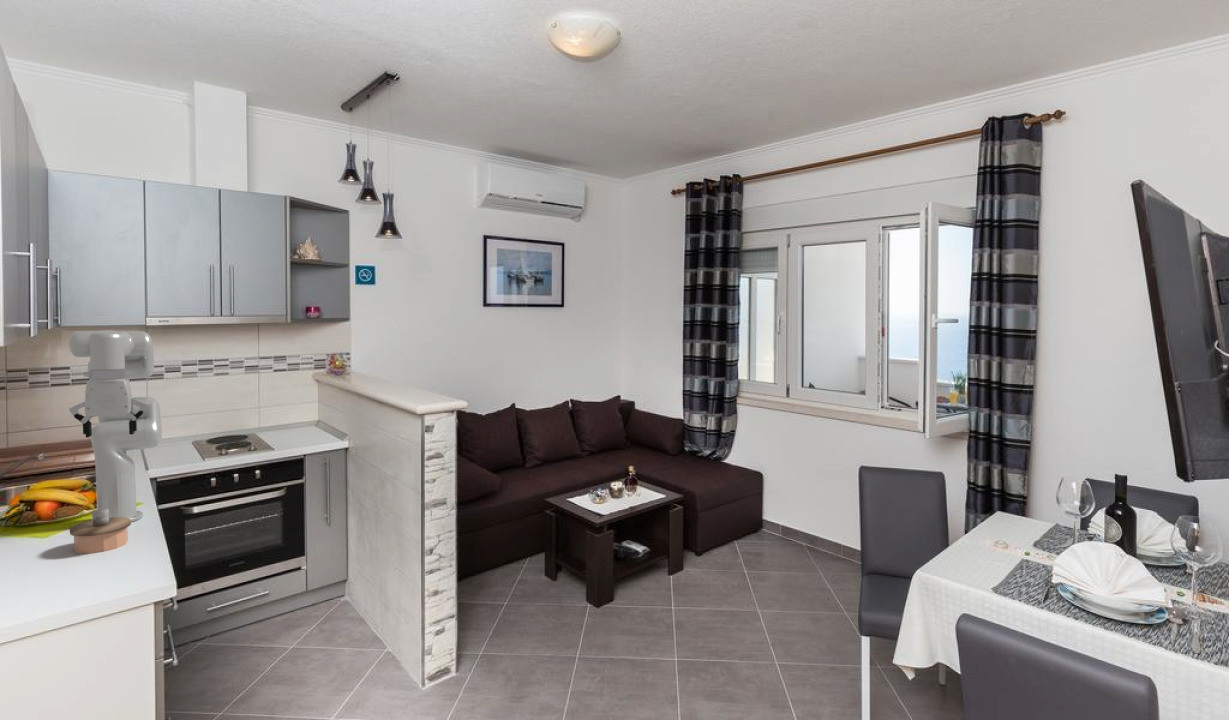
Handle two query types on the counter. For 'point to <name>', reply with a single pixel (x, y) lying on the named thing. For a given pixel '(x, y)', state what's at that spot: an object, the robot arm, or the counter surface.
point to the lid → (100, 524)
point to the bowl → (100, 542)
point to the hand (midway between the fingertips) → (110, 435)
